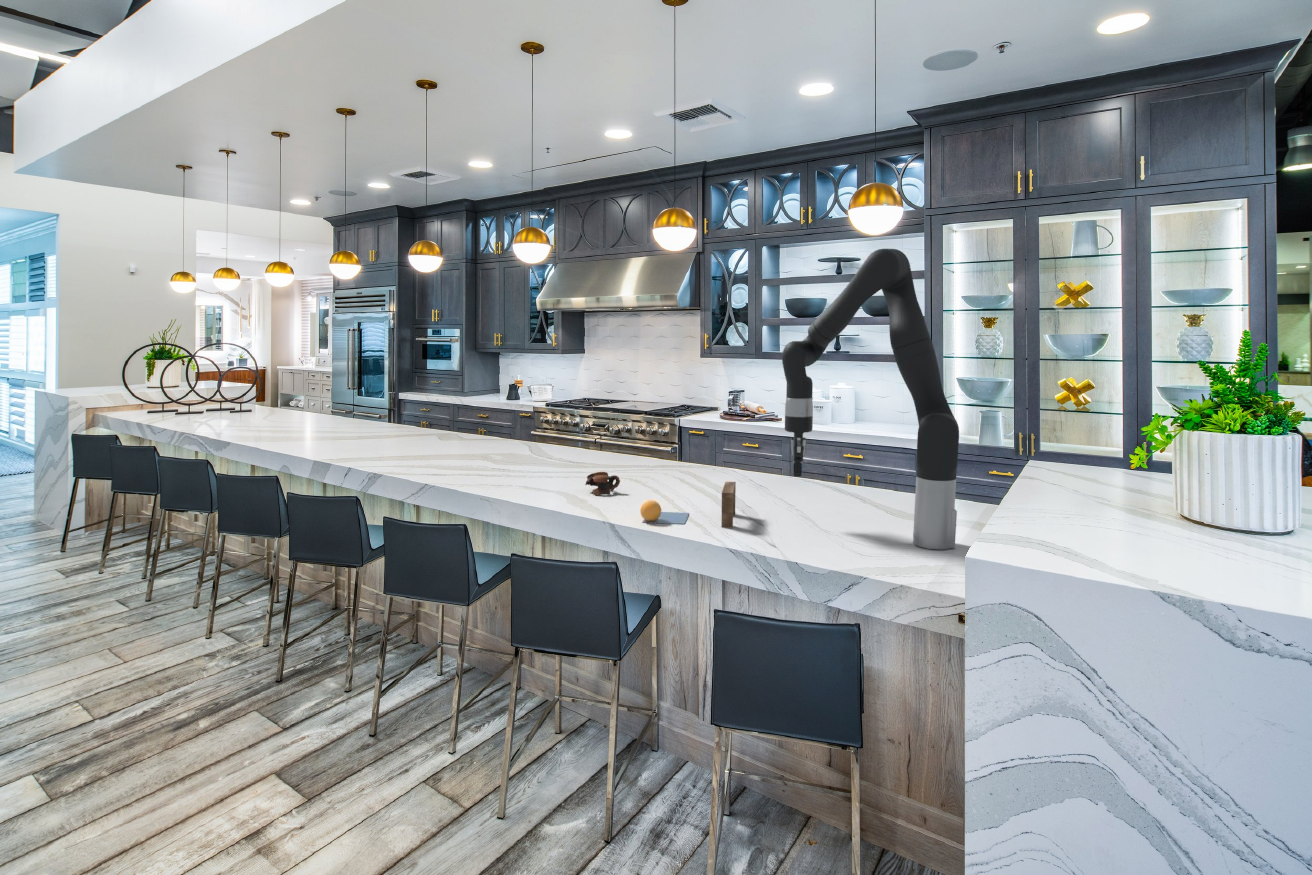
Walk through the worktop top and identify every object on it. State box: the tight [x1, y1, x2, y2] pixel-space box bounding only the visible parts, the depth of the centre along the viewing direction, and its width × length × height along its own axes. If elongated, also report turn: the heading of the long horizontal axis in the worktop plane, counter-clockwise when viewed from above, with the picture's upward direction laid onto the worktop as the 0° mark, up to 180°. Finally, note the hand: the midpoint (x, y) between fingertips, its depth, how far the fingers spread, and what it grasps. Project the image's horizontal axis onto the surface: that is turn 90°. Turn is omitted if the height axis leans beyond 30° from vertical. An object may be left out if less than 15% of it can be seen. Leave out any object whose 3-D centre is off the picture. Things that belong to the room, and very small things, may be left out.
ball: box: [639, 499, 662, 521], centre depth 195 cm, size 6×6×6 cm
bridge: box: [721, 481, 737, 528], centre depth 195 cm, size 3×15×10 cm, turn 171°
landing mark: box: [641, 511, 690, 525], centre depth 199 cm, size 12×12×1 cm
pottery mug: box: [584, 471, 621, 496], centre depth 233 cm, size 12×10×8 cm
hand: (797, 475), depth 191 cm, fingers closed
